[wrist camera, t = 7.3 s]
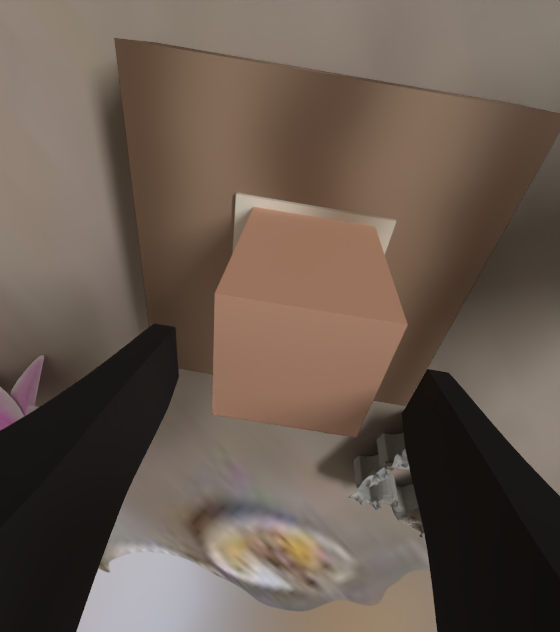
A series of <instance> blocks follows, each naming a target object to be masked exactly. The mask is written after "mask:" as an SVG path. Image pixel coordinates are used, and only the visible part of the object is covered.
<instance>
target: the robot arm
mask: <svg viewBox="0 0 560 632" xmlns="http://www.w3.org/2000/svg"><path fill="white" fill-rule="evenodd" d="M178 377H179V374H178V358H177V341H176V327H173V326H167V325H161V324H155V323H154V324H153V325H151V326H150V327H149V328H147V329H146V330H145V331H144V332H142V333H141V334H140V335H139V336H137V337H136V338H135V339H134V340H132V341H131V342H130V343H129V344H127V345H126V346H125V347H123V348H122V349H121V350H120V351H118V352H117V353H116V354H114V355H113V356H112V357H111V358H109V359H108V360H107V361H105V362H104V363H103V364H101V365H100V366H99V367H97V368H96V369H95V370H93V371H92V372H91V373H89V374H88V375H86V376H85V377H84V378H82V379H81V380H79V381H78V382H76V383H75V384H73V385H72V386H71V387H69V388H68V389H66V390H65V391H63V392H62V393H60V394H59V395H57V396H56V397H54V398H53V399H51V400H50V401H48V402H47V403H45V404H44V405H42V406H40V407H39V408H37V409H36V410H34V411H32V412H31V413H29V414H28V415H26V416H24V417H23V418H21V419H19V420H17V421H16V422H14V423H12V424H11V425H9V426H7V427H6V428H4V429H2V430H0V632H76V630H77V628H78V625H79V622H80V619H81V616H82V613H83V610H84V607H85V604H86V601H87V599H88V596H89V593H90V590H91V587H92V584H93V581H94V578H95V575H96V573H97V570H98V567H99V565H100V562H101V559H102V556H103V554H104V551H105V548H106V546H107V543H108V540H109V537H110V535H111V532H112V529H113V527H114V524H115V522H116V519H117V516H118V514H119V511H120V509H121V506H122V503H123V501H124V498H125V496H126V494H127V491H128V489H129V487H130V485H131V482H132V480H133V478H134V476H135V474H136V472H137V470H138V468H139V466H140V464H141V462H142V460H143V458H144V456H145V454H146V452H147V450H148V448H149V446H150V444H151V442H152V440H153V438H154V436H155V434H156V432H157V430H158V428H159V425H160V423H161V421H162V419H163V417H164V415H165V413H166V411H167V409H168V406H169V403H170V401H171V398H172V395H173V392H174V389H175V386H176V383H177V380H178ZM402 421H403V433H404V442H405V450H406V454H407V459H408V464H409V468H410V473H411V477H412V481H413V486H414V490H415V494H416V499H417V503H418V507H419V512H420V516H421V520H422V525H423V529H424V534H425V539H426V544H427V550H428V558H429V565H430V572H431V580H432V588H433V596H434V605H435V614H436V623H437V631H438V632H560V496H559V495H558V494H557V493H556V492H555V491H554V490H553V489H552V488H551V487H550V486H549V485H548V484H547V483H546V482H545V481H544V480H543V478H542V477H541V476H540V475H539V474H538V473H537V472H536V471H535V470H534V469H533V468H532V467H531V466H530V465H529V464H528V463H527V462H526V461H525V460H524V458H523V457H522V456H521V455H520V454H519V453H518V452H517V451H516V450H515V449H514V448H513V446H512V445H511V444H510V443H509V442H508V441H507V440H506V439H505V437H504V436H503V435H502V434H501V433H500V432H499V431H498V429H497V428H496V427H495V426H494V425H493V424H492V422H491V421H490V420H489V419H488V418H487V417H486V415H485V414H484V413H483V412H482V411H481V410H480V408H479V407H478V406H477V405H476V404H475V403H474V401H473V400H472V399H471V398H470V397H469V395H468V394H467V393H466V392H465V391H464V390H463V388H462V387H461V386H460V385H459V384H458V383H457V381H456V380H455V379H454V378H453V377H452V376H451V375H450V374H449V373H447V372H441V371H435V370H429V369H427V371H426V372H425V374H424V376H423V378H422V379H421V381H420V383H419V385H418V387H417V388H416V390H415V392H414V394H413V395H412V397H411V399H410V401H409V403H408V404H407V406H406V408H405V410H404V411H403V413H402Z"/></svg>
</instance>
